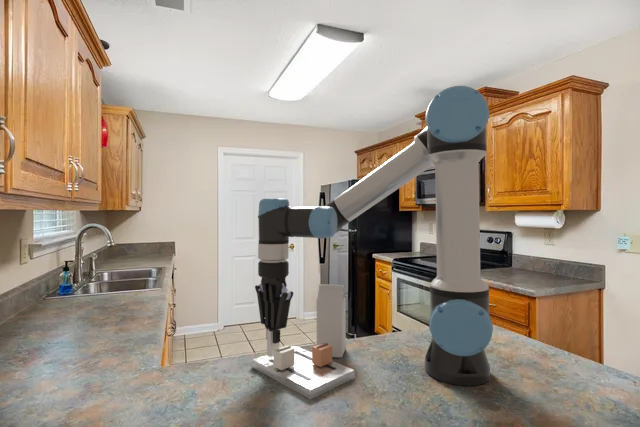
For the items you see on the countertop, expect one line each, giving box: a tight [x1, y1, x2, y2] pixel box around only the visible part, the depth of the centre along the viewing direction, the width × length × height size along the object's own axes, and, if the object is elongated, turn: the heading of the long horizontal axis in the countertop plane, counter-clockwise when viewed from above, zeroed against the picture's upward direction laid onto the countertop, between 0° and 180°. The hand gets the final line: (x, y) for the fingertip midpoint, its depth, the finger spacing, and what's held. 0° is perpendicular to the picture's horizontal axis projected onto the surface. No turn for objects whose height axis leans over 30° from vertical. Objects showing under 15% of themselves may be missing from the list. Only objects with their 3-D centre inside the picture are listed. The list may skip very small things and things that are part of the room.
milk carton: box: [316, 283, 347, 359], centre depth 102 cm, size 7×7×19 cm
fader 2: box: [311, 343, 333, 367], centre depth 90 cm, size 3×4×4 cm
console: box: [251, 345, 355, 400], centre depth 89 cm, size 22×14×2 cm, turn 44°
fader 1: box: [274, 345, 294, 370], centre depth 88 cm, size 3×4×4 cm
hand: (273, 354), depth 91 cm, fingers closed
